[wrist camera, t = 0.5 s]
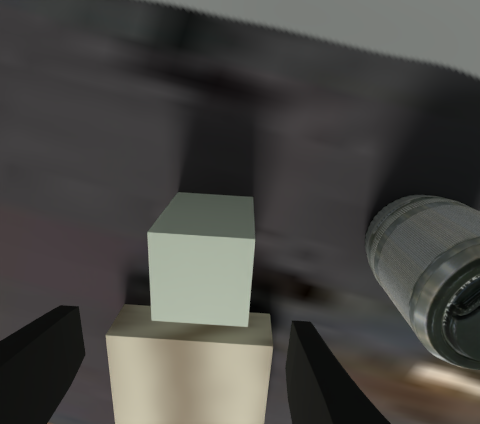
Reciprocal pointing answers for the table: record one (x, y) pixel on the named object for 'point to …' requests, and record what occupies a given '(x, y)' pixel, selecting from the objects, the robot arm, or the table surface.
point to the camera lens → (432, 272)
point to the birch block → (188, 370)
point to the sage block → (202, 260)
